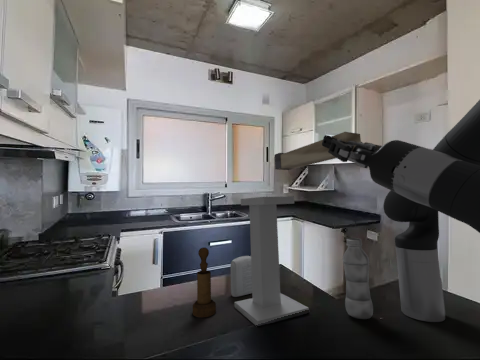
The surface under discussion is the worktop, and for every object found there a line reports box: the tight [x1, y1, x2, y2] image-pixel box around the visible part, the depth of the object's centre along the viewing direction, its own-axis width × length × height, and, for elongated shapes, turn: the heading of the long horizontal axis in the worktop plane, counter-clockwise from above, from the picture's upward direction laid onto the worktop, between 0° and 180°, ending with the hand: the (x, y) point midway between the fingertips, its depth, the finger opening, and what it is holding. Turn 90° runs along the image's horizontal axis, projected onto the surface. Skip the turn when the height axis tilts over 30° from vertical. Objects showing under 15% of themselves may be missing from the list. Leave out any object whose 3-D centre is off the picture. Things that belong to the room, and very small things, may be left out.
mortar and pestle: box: [192, 247, 217, 318], centre depth 71 cm, size 7×6×18 cm
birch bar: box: [274, 131, 362, 171], centre depth 56 cm, size 4×23×4 cm, turn 25°
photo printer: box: [230, 255, 252, 298], centre depth 85 cm, size 10×4×12 cm, turn 124°
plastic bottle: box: [341, 237, 374, 320], centre depth 65 cm, size 6×7×20 cm
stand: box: [234, 196, 310, 326], centre depth 72 cm, size 16×14×32 cm
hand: (332, 141), depth 50 cm, fingers closed on birch bar, 4 cm apart
